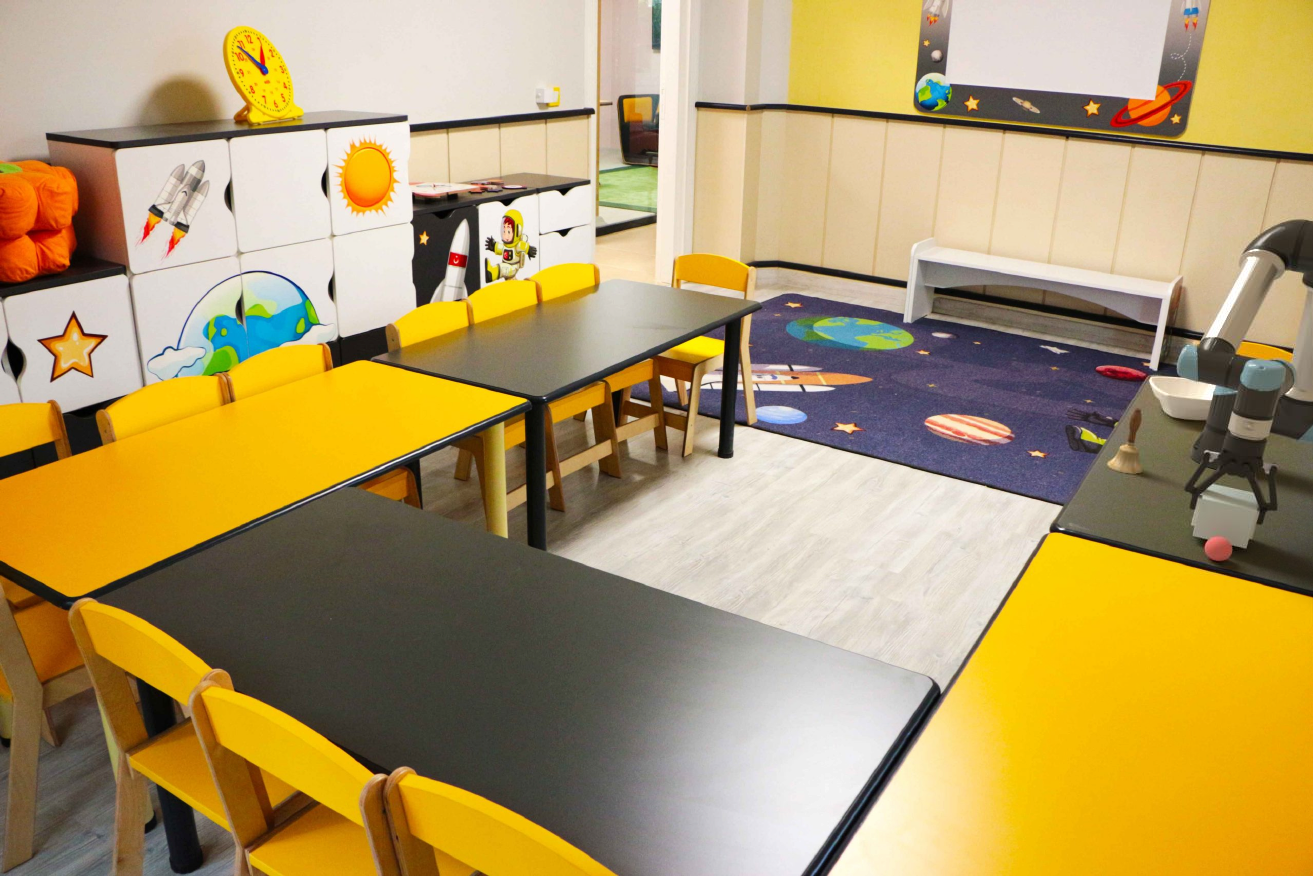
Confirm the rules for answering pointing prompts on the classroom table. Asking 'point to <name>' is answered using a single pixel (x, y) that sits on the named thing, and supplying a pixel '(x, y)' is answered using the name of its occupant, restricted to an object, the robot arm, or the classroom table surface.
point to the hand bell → (1128, 449)
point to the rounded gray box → (1226, 515)
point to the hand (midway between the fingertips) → (1221, 529)
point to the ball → (1218, 548)
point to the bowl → (1183, 397)
